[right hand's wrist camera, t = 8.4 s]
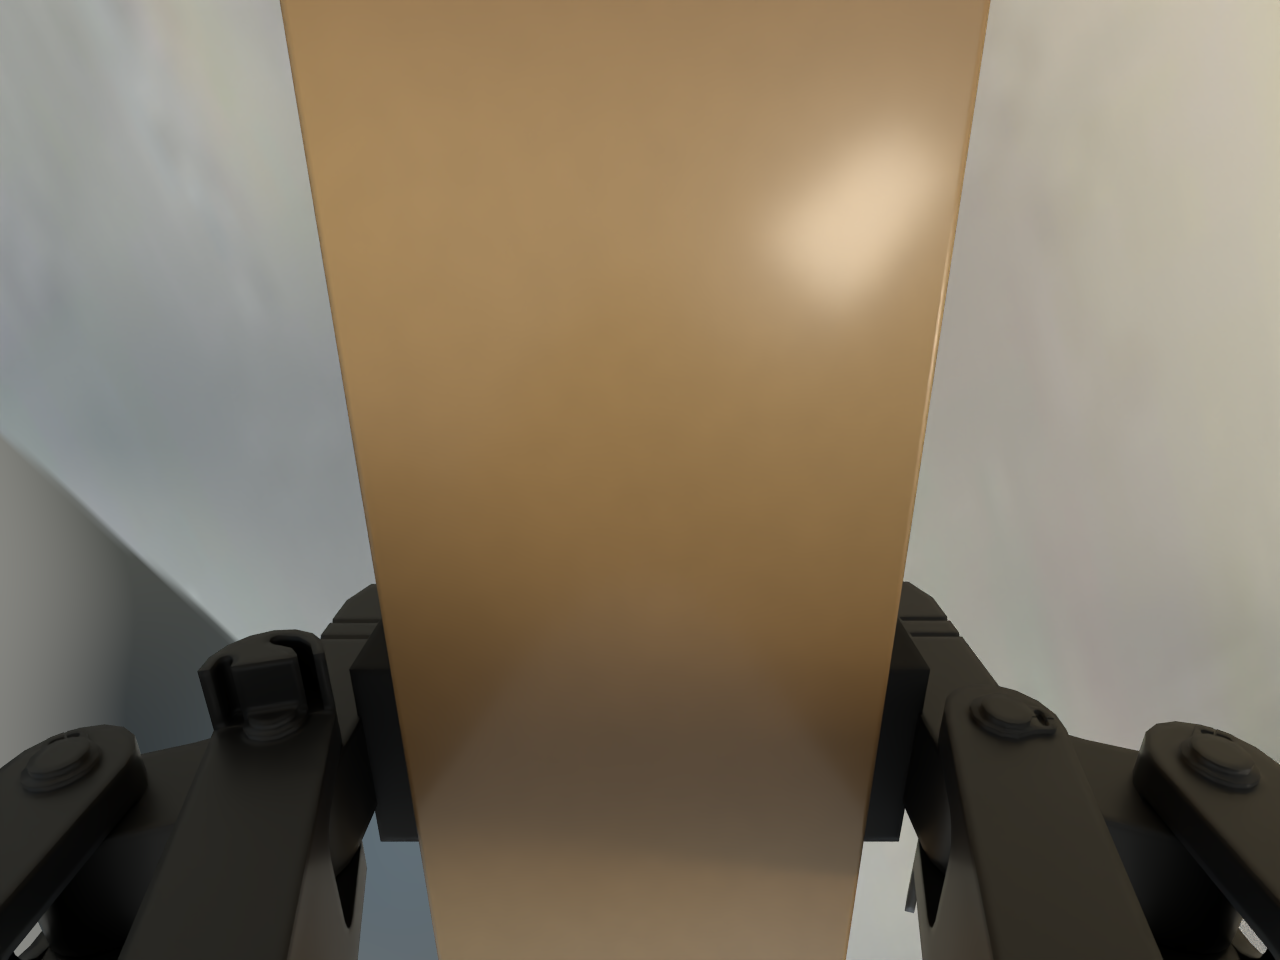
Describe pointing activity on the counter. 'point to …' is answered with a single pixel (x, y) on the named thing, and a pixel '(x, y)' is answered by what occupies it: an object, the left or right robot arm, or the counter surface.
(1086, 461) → the counter surface
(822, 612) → the post
